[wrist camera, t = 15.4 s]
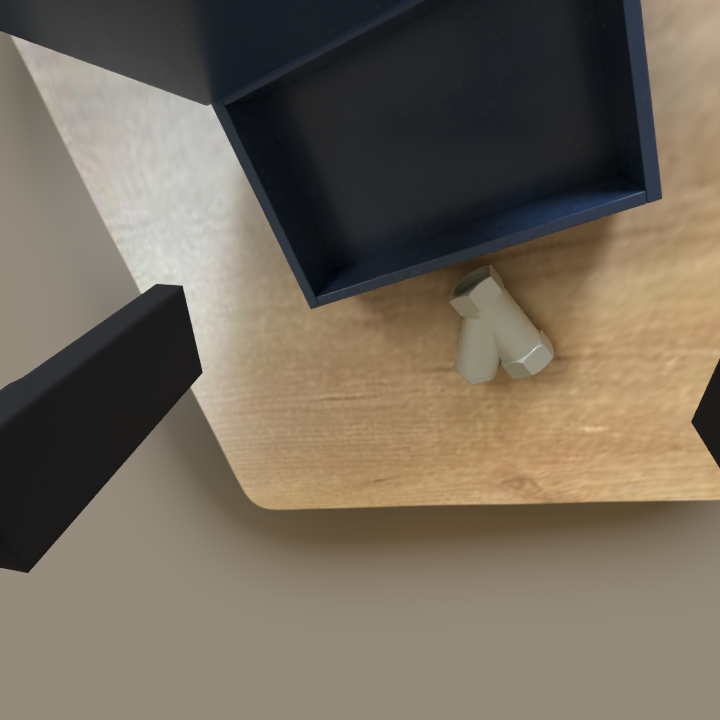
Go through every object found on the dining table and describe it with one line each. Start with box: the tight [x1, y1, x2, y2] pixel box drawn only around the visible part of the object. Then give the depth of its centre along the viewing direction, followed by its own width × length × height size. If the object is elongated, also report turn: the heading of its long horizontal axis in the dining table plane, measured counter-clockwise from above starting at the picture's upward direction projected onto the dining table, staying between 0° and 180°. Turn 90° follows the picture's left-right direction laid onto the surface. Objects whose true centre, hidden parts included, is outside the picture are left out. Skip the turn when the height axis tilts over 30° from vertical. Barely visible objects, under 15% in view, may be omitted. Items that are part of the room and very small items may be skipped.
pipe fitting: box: [449, 265, 554, 385], centre depth 35 cm, size 8×4×7 cm
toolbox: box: [211, 0, 662, 309], centre depth 28 cm, size 13×21×6 cm, turn 113°
